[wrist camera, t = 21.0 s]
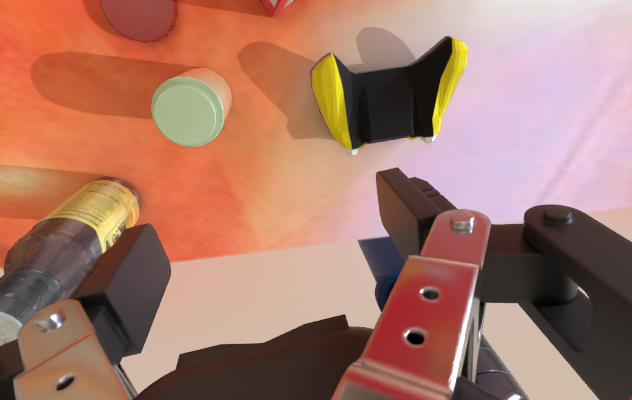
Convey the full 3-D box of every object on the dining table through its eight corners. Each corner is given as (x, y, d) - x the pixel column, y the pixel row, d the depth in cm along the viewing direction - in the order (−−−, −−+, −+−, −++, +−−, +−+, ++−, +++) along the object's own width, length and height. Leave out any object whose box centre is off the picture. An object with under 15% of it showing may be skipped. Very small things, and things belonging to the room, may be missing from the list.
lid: (121, -53, 29) (114, -57, 27) (189, -5, 31) (186, -6, 30) (94, 13, 30) (87, 13, 29) (161, 55, 33) (156, 56, 31)
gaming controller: (304, 53, 34) (316, 149, 39) (311, 56, 29) (323, 165, 34) (448, 33, 35) (443, 128, 40) (478, 33, 30) (469, 142, 35)
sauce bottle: (121, 234, 40) (6, 394, 22) (70, 199, 37) (-105, 349, 20) (158, 198, 39) (68, 337, 21) (108, 160, 36) (-42, 281, 18)
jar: (242, 107, 36) (236, 129, 27) (197, 134, 36) (178, 163, 28) (210, 56, 33) (192, 63, 25) (162, 85, 34) (129, 102, 25)
